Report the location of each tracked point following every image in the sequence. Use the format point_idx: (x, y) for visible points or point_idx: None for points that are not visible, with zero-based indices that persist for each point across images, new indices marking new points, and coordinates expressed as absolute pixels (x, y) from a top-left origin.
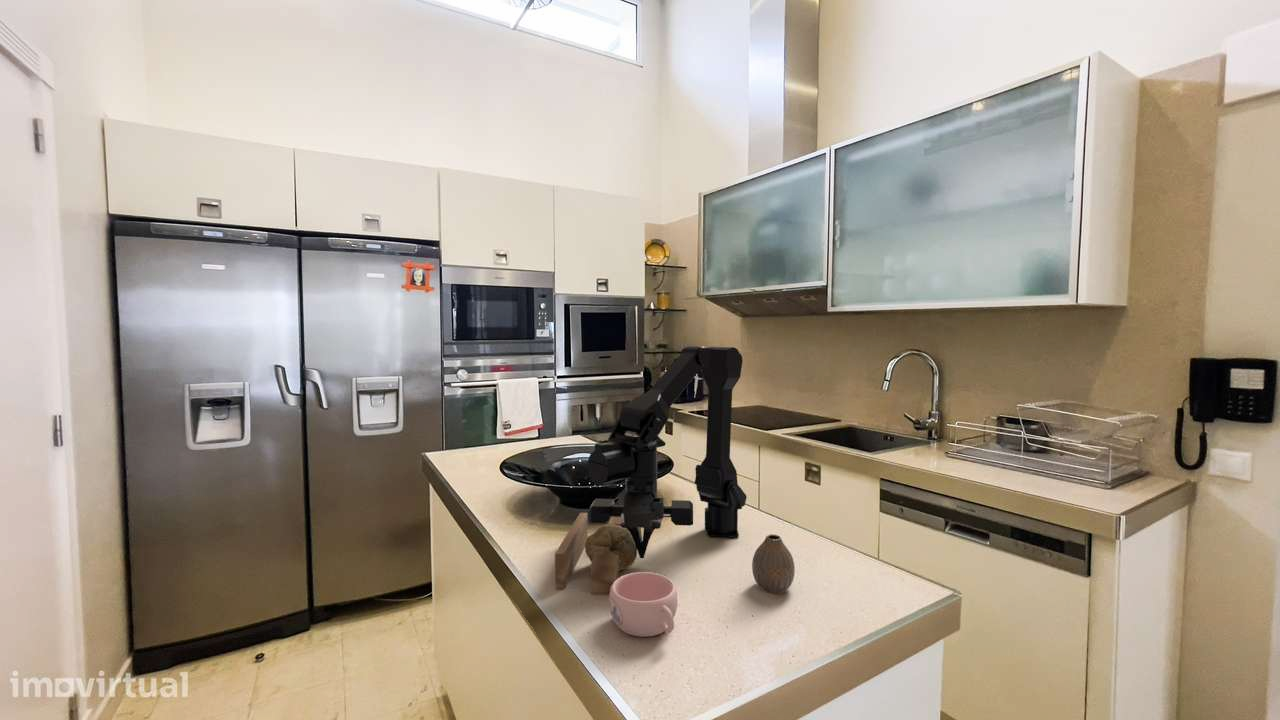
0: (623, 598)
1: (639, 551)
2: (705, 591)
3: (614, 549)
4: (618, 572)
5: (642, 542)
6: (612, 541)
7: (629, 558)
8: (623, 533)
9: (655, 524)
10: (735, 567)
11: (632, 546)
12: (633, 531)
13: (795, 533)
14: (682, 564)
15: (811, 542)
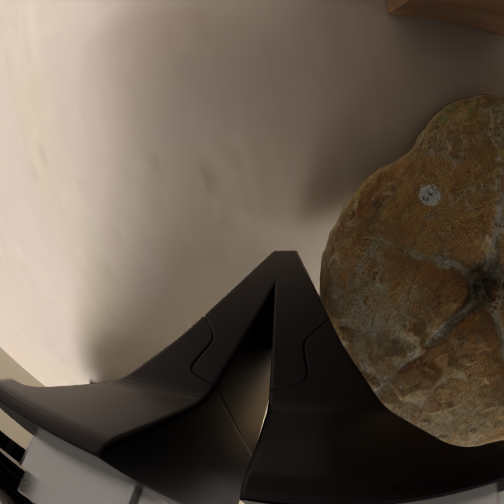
0: None
1: (294, 273)
2: (7, 86)
3: (468, 284)
4: (406, 1)
5: (253, 318)
6: (491, 331)
7: (364, 233)
8: (414, 405)
9: (39, 436)
10: (15, 260)
11: (350, 323)
12: (334, 413)
13: (37, 375)
14: (126, 267)
15: (7, 347)
